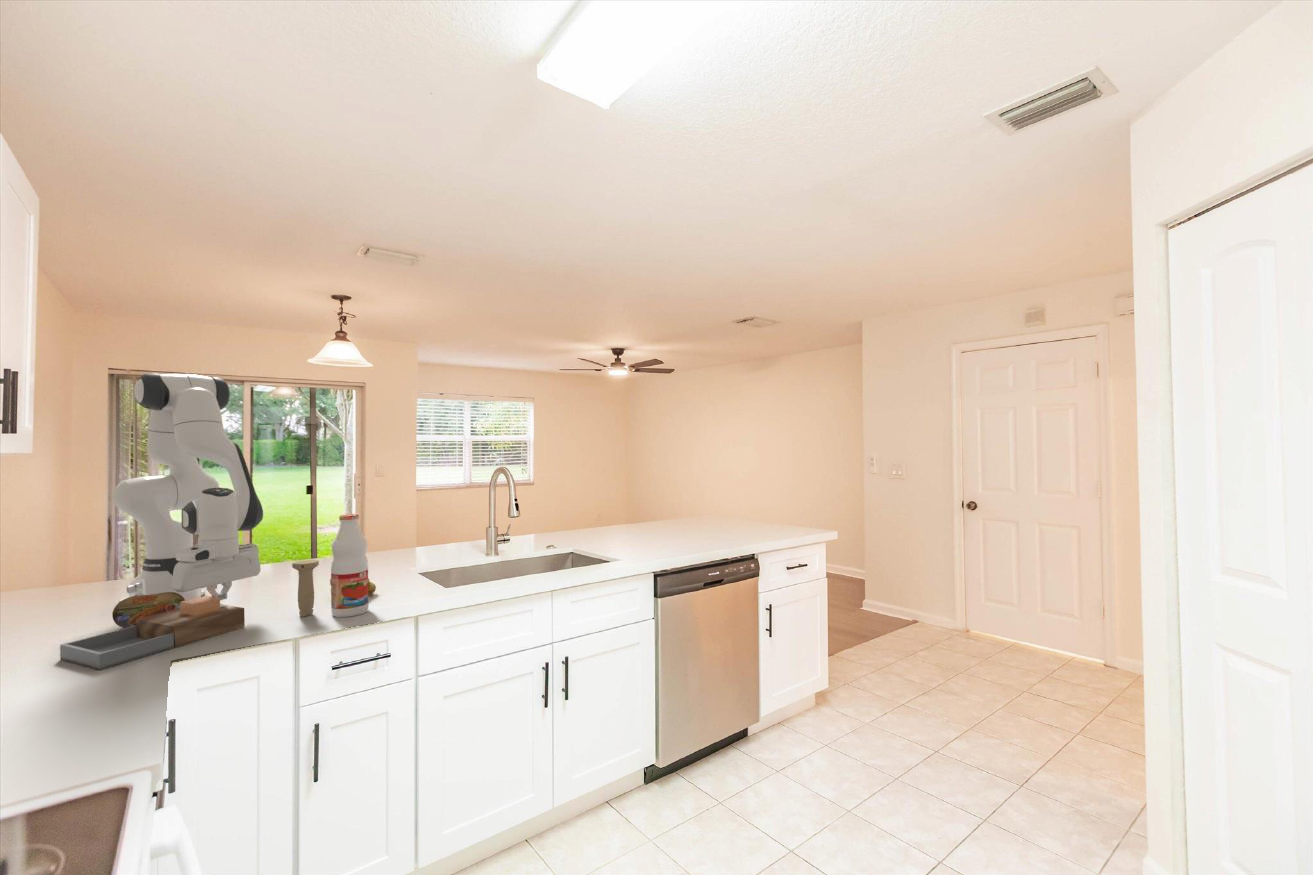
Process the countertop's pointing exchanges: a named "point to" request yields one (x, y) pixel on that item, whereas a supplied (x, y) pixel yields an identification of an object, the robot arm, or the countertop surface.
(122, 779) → the countertop surface
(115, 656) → the box
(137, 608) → the tin
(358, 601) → the fruit juice
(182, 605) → the terracotta block
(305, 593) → the handle
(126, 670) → the countertop surface
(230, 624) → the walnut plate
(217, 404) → the robot arm
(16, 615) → the countertop surface
